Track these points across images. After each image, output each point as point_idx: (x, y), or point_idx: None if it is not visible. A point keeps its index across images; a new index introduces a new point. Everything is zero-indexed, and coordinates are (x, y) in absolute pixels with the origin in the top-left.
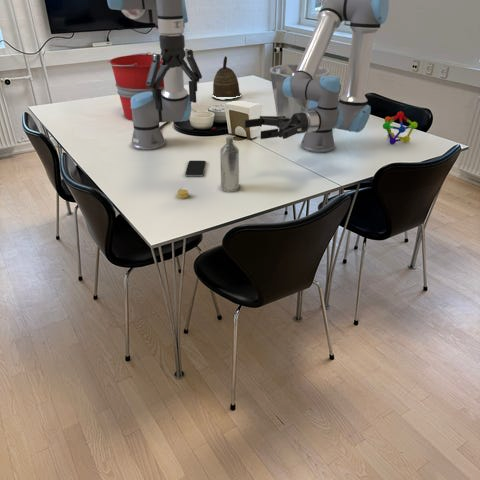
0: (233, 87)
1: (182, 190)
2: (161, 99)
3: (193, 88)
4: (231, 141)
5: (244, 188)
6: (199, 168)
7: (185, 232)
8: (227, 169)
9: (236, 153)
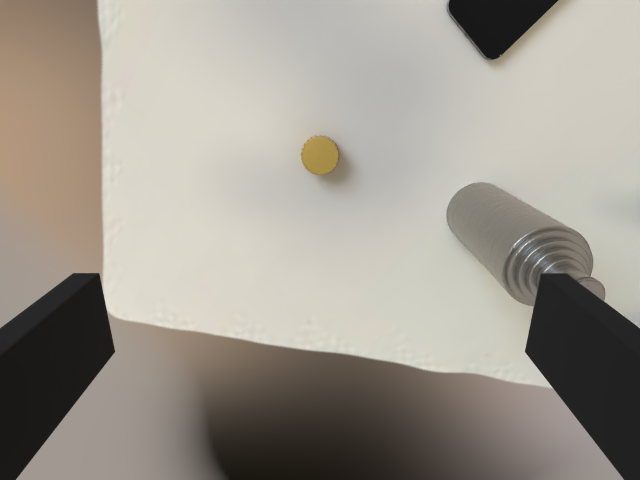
0: None
1: (325, 147)
2: (45, 435)
3: (630, 473)
4: None
5: None
6: None
7: (197, 326)
8: (479, 259)
9: None
